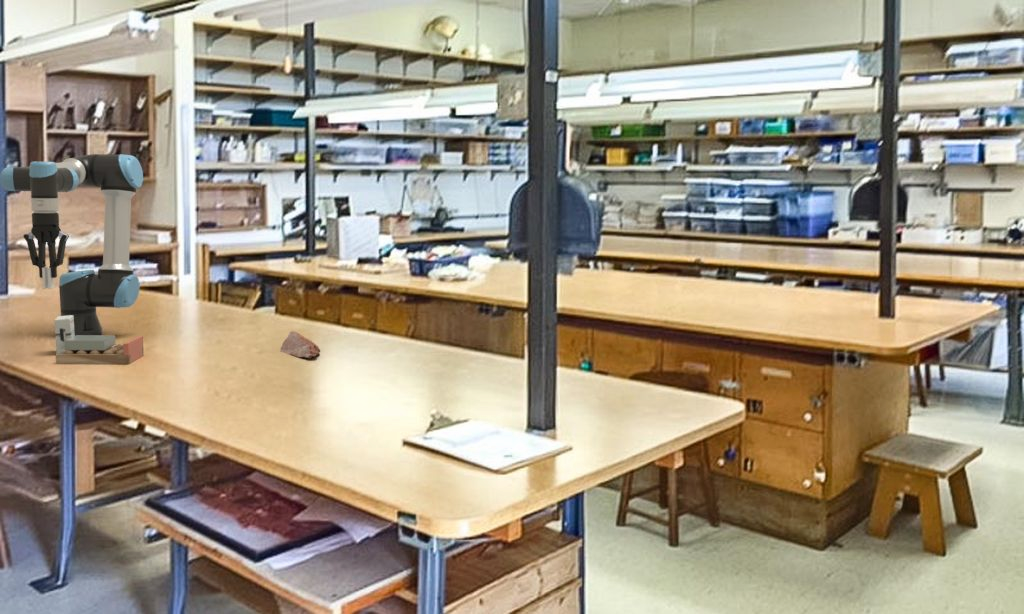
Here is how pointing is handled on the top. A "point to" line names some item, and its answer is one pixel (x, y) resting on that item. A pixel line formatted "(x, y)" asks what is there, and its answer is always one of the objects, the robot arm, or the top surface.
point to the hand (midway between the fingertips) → (48, 288)
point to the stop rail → (133, 348)
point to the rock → (299, 346)
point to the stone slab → (90, 342)
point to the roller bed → (95, 356)
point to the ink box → (63, 331)
